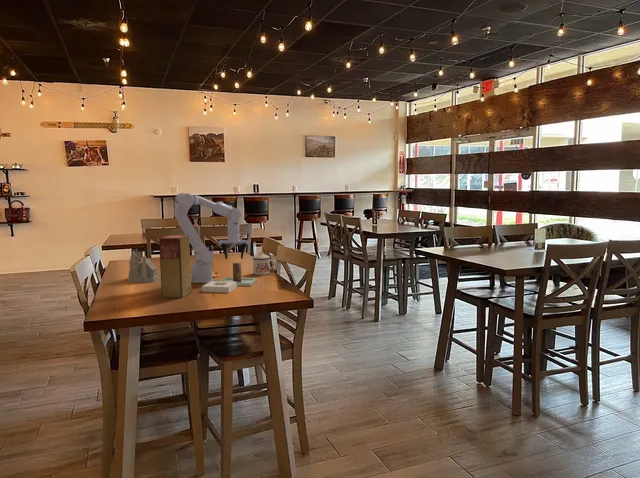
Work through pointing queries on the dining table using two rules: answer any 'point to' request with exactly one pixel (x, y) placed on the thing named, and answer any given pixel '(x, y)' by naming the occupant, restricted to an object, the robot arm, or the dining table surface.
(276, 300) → the dining table surface
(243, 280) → the sage tray
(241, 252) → the robot arm
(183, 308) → the dining table surface
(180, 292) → the food packaging
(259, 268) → the teacup with lid
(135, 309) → the dining table surface
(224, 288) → the holder block
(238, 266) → the walnut pin
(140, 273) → the grey castle model
